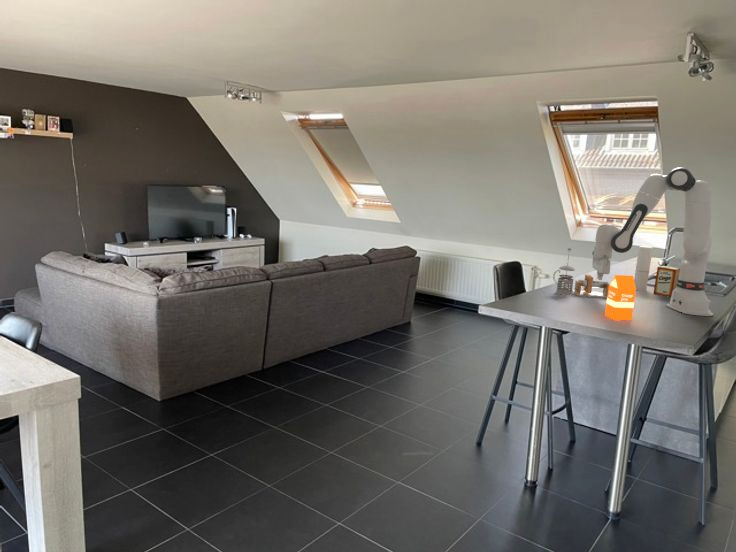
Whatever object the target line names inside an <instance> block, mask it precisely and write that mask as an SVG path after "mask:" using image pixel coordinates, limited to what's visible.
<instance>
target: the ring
mask: <svg viewBox="0 0 736 552" xmlns="http://www.w3.org/2000/svg"><path fill="white" fill-rule="evenodd" d="M584 280H588V286H587V287H583V289H582V291H585V292H587V293H591V292H593V291H592V290H593V287H592V283H593V281H594V277H593V276H592V275H590V274H585V275H584Z"/></svg>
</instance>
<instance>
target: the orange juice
mask: <svg viewBox="0 0 736 552" xmlns="http://www.w3.org/2000/svg"><path fill="white" fill-rule="evenodd" d="M634 278H635V276H634V275H622V274H621V275H620V274H615V275H614V277H613V278H612V280H611V282H610V283H609V284H610V285H609V289H608V296H607V298H606V301H605V304H606V305H605V311H604V317H606V316H607V318H608V317H609V318H608V319H610V318H611V319H610V320H612V319H613V320H612V321H620V320H632V319H633V314H634V306H635V300H636V299H635V298H636V293H637V289H636V287H635V282H634Z"/></svg>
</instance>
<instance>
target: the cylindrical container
mask: <svg viewBox="0 0 736 552" xmlns="http://www.w3.org/2000/svg"><path fill="white" fill-rule="evenodd" d="M653 250H654V248H653V246H649V245H648V246H647V245H639V246H638V250H637V251H638V252H637V259H636V264H635V266H636V267H635V274H634V282H635V287H636V290H637V289H638V291H647V288H648V284H649V283H648V282H649V275H650V269H651V262H652V255H653Z"/></svg>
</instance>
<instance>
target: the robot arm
mask: <svg viewBox="0 0 736 552" xmlns="http://www.w3.org/2000/svg"><path fill="white" fill-rule="evenodd" d="M668 190H672V191H677V192H678V191H681V192H683V194H684V200H685V201H684V222H683V223H684V226H683V233H682V248H683V249H684V251H683V255H682V259H681V263H680V268H679V269H680V272H679V278H678V279H677V284H676V286H677V287H676V288H675V289H674V290H673V291H672V295H671V297H670V300H669V303H666V305H665V306H666V307H668V308H670V309H672V310H674V311H677V312H680V313H681V312H682V314H686V315H693V316H699V317H700V316H702V317H713V316H714V313H713V312H712V311H711V310H710V309H709V308H710V307H709V306H710V305H711V303H712V301H711V300H709V299H708V296H707V295H706V292H705V289H706V287H705V286H706V285H705V282H704V281H705V277H706V271H707V265H708V261H709V258H710V257H709V256H710V252H711V248H712V242H713V241H712V236H711V235H710V231H711V220H712V192H711V186H710V184H709V183H708V182H707V181H706V180H700V179H699V180H697V179H696V178H695V177H694V176H693V174H692V172H691V171H690V170H689V169H687V168H686V167H675V168H673V169H672V170H670V171H669V172H668V173H667V174H666V175H664V174H660V173H659V174H658V173H653V174H651V175H649V176H648V177H647V178H646V180H644V182H643V183H642V185H641V186H640V188H639V189H638V191H637V193H636V194H635V197H634V199H633V203H632V208H631V212H630V215H629V217H628V218H627V220H626V221H625V224H624V225H623V227H622V229H620V228H618V227H617V226H616V225H614V224H612V223H606V224H601V225H599V226H598V227H597V230H596V233H595V246H594V249H593V250H592V253H591V255H592V262H591V263H592V264H591V265H592V269H594V270H595V271H596V275H597V277H596V279H597V280H598V281H603V278H604V277H603V276H604V275H609V274H610V273H611V260H610V259H612V256H613V251H615V252H617V253H619V254H622V253H623V254H624V253H627V252H628V251H630V250H631V248H632V247H633V243H634V236H635V234H636V233H637V230H638V229H639V227H640V225H641V223H642V222H643V221H644V219H646V217H647V216H648V215H649V214H650V213H651V212H652V211H653V210H654V209H655V208H656V207H657V205H658V204H659V202H660V200H661V199H662V197H663V195H665V193H666V192H667V191H668Z"/></svg>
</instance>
